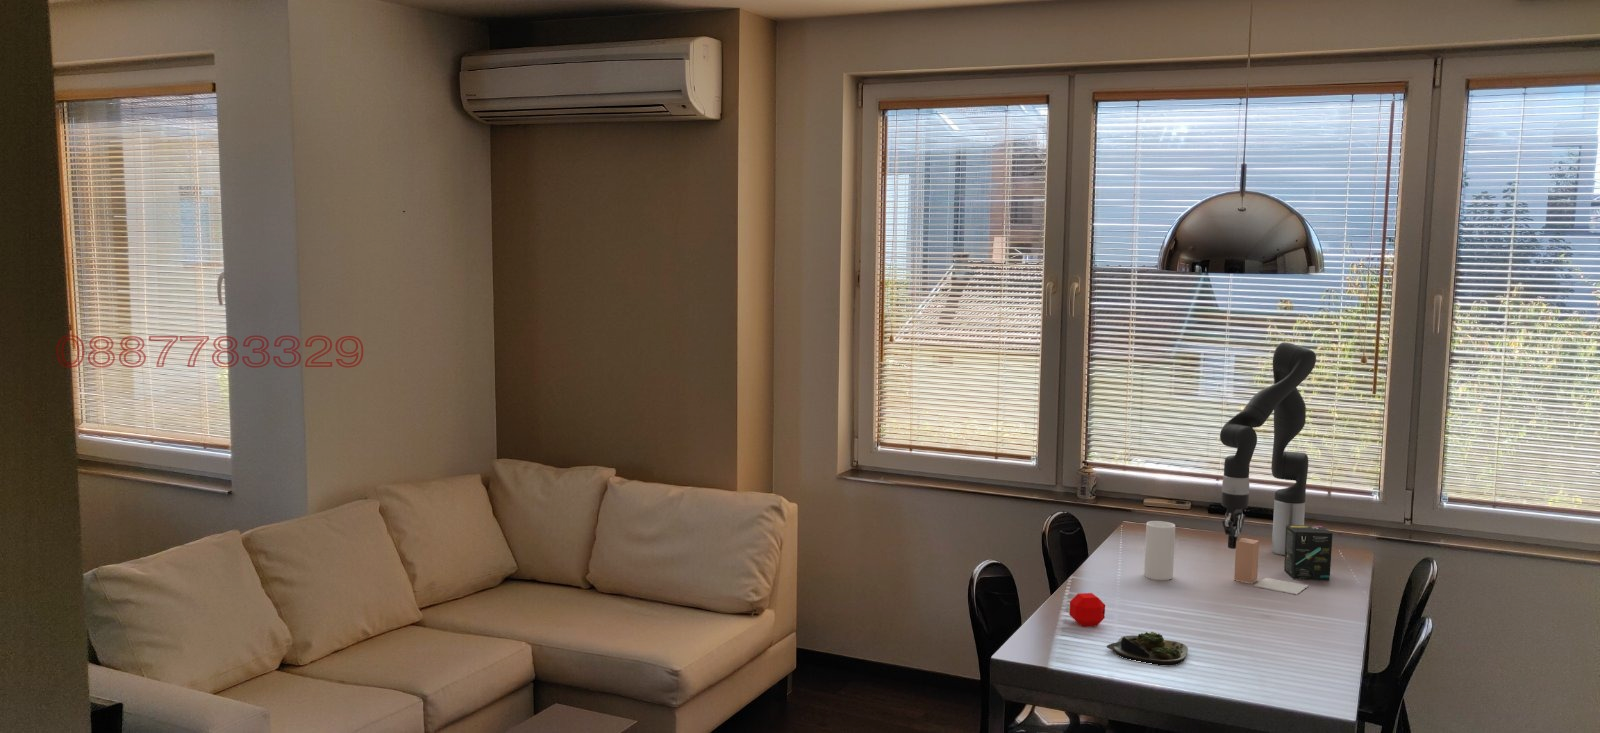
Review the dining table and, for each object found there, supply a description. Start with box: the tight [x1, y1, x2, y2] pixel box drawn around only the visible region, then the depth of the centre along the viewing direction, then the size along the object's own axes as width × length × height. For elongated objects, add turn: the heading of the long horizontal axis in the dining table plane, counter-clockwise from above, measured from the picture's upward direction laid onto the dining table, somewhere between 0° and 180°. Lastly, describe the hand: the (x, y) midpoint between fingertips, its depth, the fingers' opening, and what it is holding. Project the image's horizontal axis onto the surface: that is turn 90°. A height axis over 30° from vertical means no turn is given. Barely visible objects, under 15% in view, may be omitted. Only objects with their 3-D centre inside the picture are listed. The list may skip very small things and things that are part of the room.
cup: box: [1143, 520, 1176, 581], centre depth 339 cm, size 8×8×16 cm
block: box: [1233, 537, 1260, 585], centre depth 336 cm, size 5×5×12 cm
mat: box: [1253, 577, 1309, 596], centre depth 331 cm, size 11×12×1 cm
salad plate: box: [1106, 631, 1189, 666], centre depth 275 cm, size 19×18×5 cm
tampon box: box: [1283, 525, 1333, 581], centre depth 342 cm, size 11×9×15 cm
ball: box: [1069, 592, 1106, 628], centre depth 294 cm, size 8×8×8 cm
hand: (1232, 548), depth 339 cm, fingers closed
